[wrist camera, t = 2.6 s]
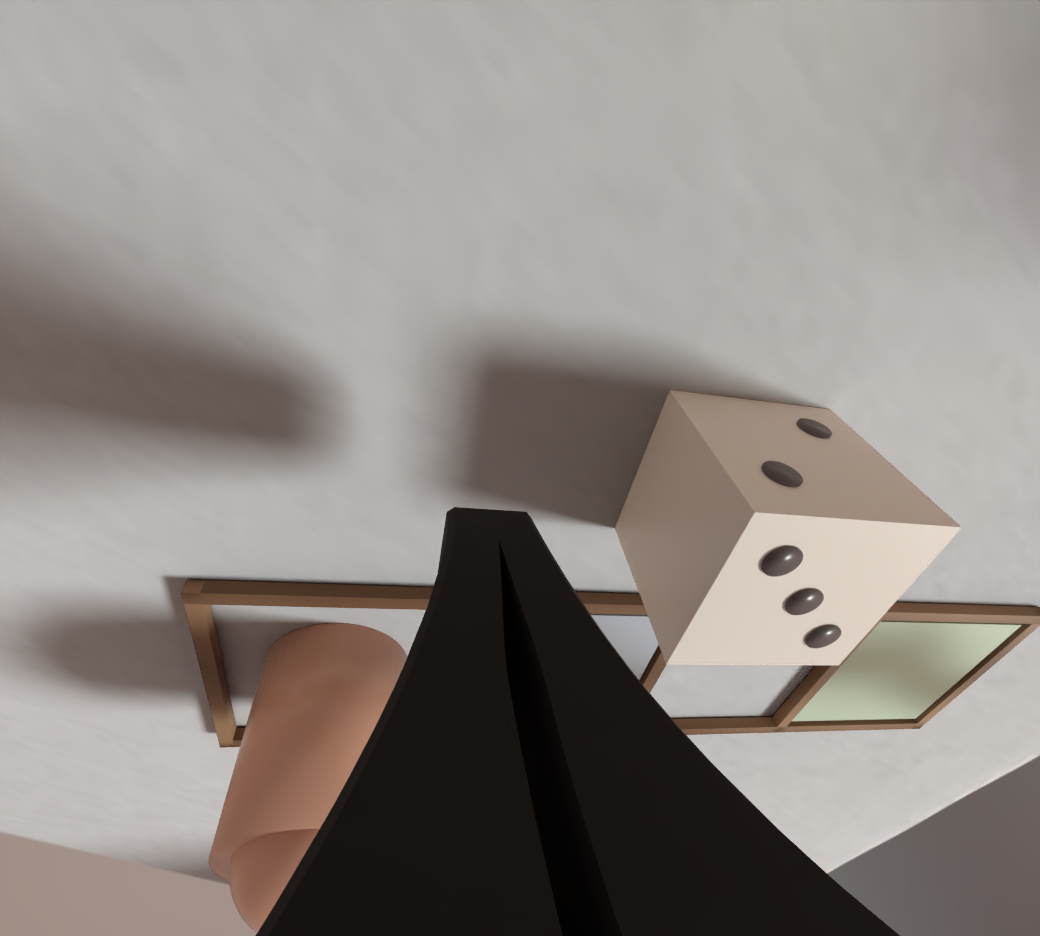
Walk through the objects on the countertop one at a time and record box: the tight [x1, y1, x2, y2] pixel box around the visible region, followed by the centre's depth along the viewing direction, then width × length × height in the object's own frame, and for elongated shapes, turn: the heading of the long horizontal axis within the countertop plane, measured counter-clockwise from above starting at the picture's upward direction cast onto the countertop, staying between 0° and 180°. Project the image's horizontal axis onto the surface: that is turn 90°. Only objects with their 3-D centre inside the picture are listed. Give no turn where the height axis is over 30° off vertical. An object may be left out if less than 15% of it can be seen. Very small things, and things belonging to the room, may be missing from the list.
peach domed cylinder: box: [209, 623, 407, 933], centre depth 13 cm, size 4×4×6 cm
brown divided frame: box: [181, 580, 1040, 747], centre depth 18 cm, size 7×26×1 cm, turn 79°
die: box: [615, 390, 962, 666], centre depth 12 cm, size 4×4×4 cm
